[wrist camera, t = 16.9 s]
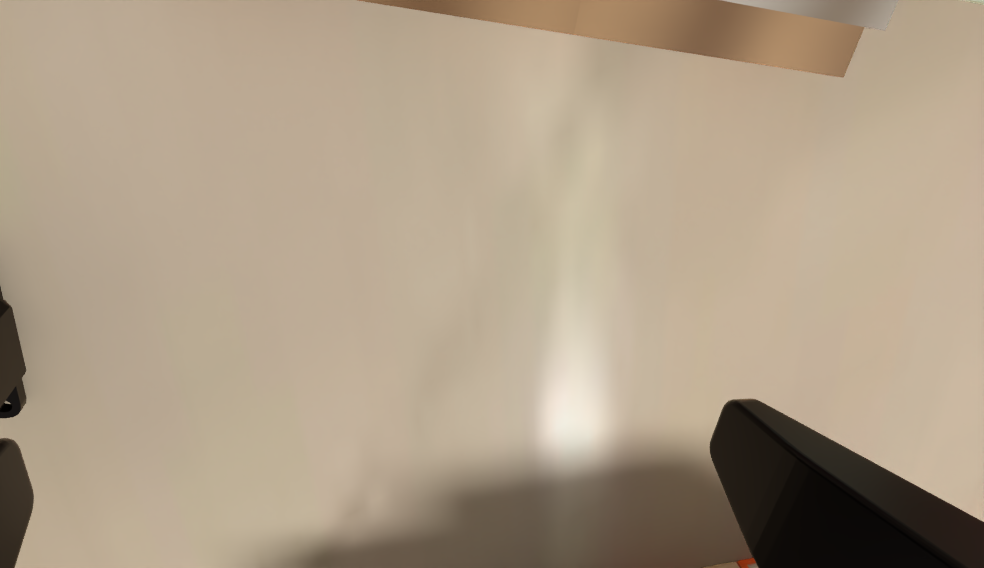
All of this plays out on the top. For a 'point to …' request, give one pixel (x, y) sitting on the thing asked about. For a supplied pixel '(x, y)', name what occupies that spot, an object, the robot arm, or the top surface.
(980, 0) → the lid
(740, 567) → the stack of blocks
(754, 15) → the wooden container
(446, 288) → the top surface
